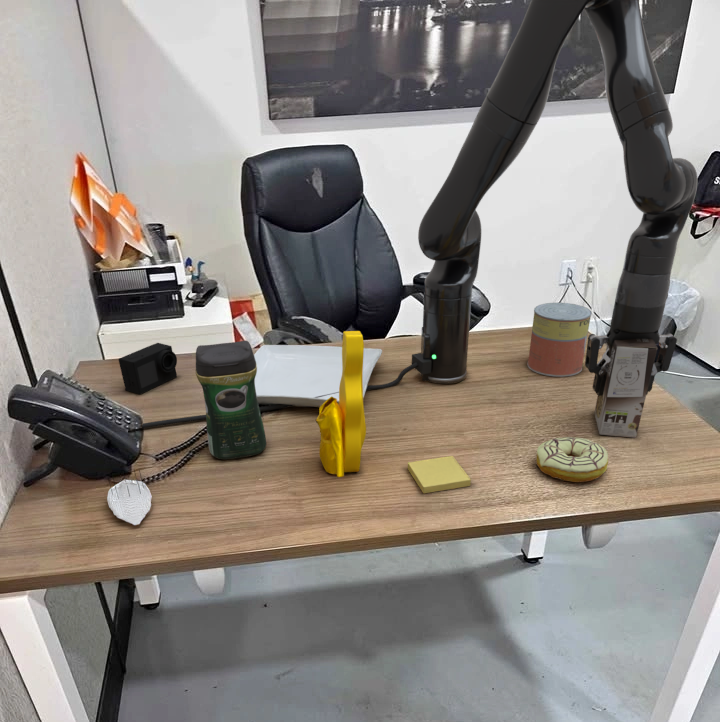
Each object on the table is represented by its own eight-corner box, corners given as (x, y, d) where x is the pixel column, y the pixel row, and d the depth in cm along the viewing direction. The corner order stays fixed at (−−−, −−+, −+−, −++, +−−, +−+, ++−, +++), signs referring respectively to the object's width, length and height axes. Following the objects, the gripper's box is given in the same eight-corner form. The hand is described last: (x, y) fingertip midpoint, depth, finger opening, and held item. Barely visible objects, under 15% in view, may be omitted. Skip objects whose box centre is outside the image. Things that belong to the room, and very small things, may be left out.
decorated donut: (538, 448, 109) (541, 428, 107) (606, 457, 106) (610, 437, 104) (531, 479, 100) (534, 458, 98) (604, 490, 97) (609, 469, 95)
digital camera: (143, 396, 130) (136, 363, 126) (125, 390, 132) (117, 358, 129) (181, 378, 137) (176, 346, 134) (163, 373, 140) (157, 341, 136)
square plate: (383, 363, 142) (383, 346, 140) (361, 419, 119) (361, 400, 117) (263, 357, 146) (262, 341, 144) (220, 411, 123) (217, 392, 121)
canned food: (588, 376, 134) (598, 319, 127) (533, 377, 134) (540, 320, 128) (574, 356, 143) (582, 302, 137) (522, 356, 144) (529, 302, 137)
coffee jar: (263, 434, 115) (252, 332, 105) (269, 456, 108) (257, 349, 99) (207, 442, 113) (190, 339, 103) (210, 464, 106) (192, 356, 97)
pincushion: (159, 522, 93) (152, 489, 90) (115, 533, 91) (105, 500, 88) (146, 482, 102) (138, 450, 99) (105, 491, 100) (96, 459, 97)
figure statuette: (311, 442, 112) (303, 317, 101) (356, 437, 113) (353, 313, 102) (327, 498, 97) (319, 358, 86) (378, 491, 99) (377, 353, 87)
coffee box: (637, 438, 111) (659, 348, 103) (598, 435, 112) (616, 345, 104) (630, 414, 119) (649, 328, 110) (593, 412, 120) (609, 327, 111)
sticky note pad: (423, 493, 98) (423, 487, 97) (407, 468, 104) (407, 462, 103) (470, 486, 99) (471, 479, 99) (452, 461, 106) (452, 455, 105)
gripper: (676, 291, 107) (654, 384, 116) (588, 292, 107) (572, 385, 116) (696, 304, 101) (671, 402, 109) (602, 306, 101) (585, 403, 110)
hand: (620, 393), depth 113 cm, fingers closed on coffee box, 7 cm apart
